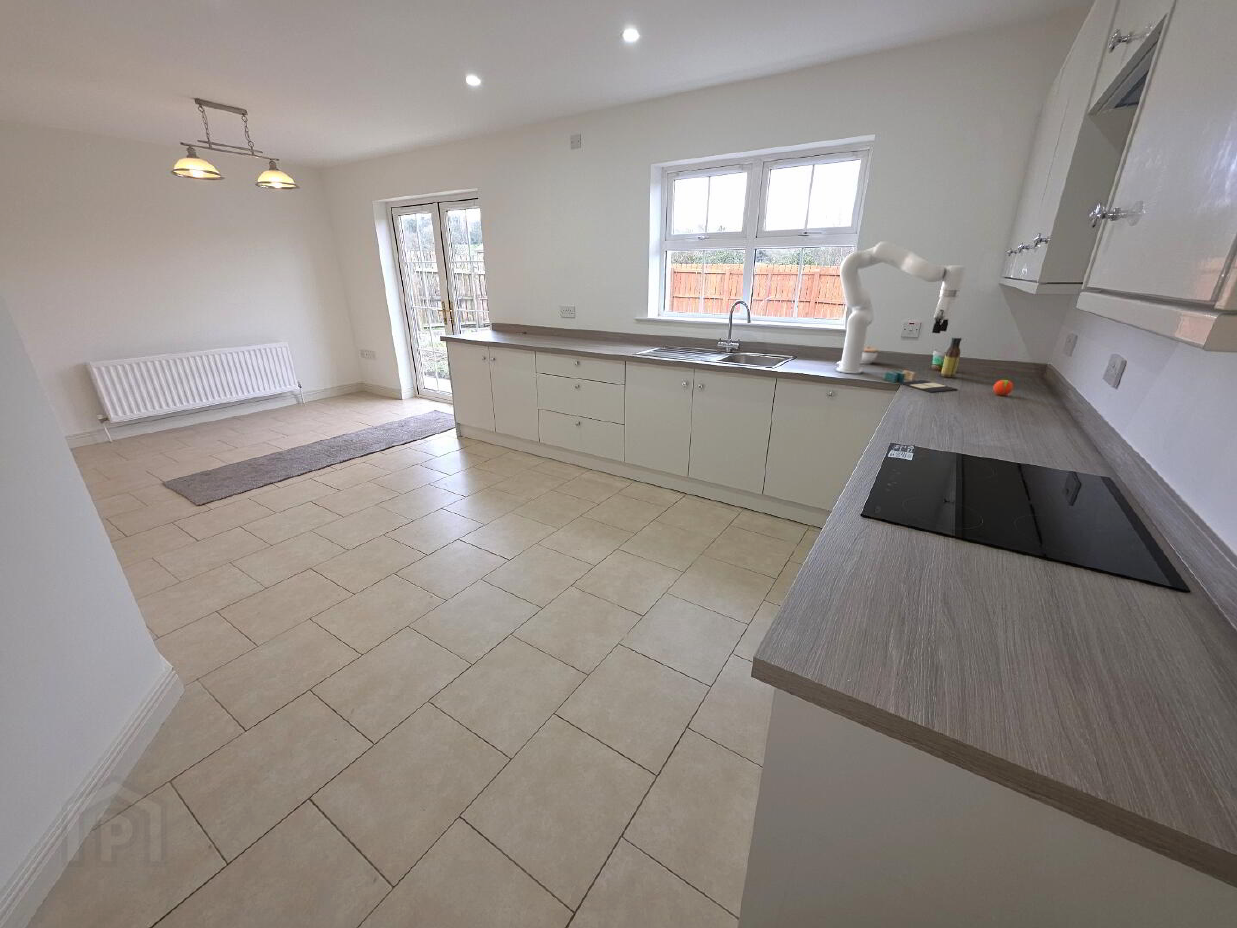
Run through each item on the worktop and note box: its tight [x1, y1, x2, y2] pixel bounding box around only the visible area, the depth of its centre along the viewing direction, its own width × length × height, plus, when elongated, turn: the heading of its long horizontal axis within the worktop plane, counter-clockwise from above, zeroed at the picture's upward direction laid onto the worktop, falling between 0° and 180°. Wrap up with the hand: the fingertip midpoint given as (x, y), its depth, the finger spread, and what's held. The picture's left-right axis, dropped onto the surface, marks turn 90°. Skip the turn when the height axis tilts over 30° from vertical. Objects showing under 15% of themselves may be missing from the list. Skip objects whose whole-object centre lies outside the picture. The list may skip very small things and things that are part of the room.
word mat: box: [898, 379, 958, 394], centre depth 230 cm, size 18×16×1 cm
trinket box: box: [860, 345, 879, 365], centre depth 280 cm, size 11×11×9 cm
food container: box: [931, 349, 947, 372], centre depth 262 cm, size 12×6×10 cm, turn 25°
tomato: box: [992, 379, 1014, 396], centre depth 215 cm, size 8×7×7 cm
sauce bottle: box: [940, 336, 963, 379], centre depth 246 cm, size 7×6×20 cm
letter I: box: [902, 369, 917, 382], centre depth 243 cm, size 6×2×4 cm, turn 18°
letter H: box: [883, 370, 905, 384], centre depth 240 cm, size 6×6×4 cm
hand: (939, 332), depth 230 cm, fingers open, 9 cm apart
